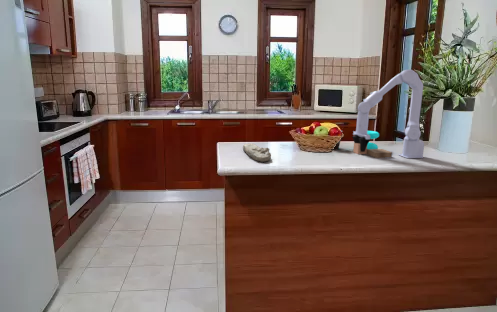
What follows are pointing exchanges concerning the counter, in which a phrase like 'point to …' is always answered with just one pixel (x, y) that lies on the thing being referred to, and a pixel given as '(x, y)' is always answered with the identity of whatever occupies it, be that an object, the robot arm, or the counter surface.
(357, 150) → the cube
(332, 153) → the counter surface
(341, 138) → the coffee mug
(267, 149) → the long grey stone
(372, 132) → the donuts
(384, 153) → the slab
